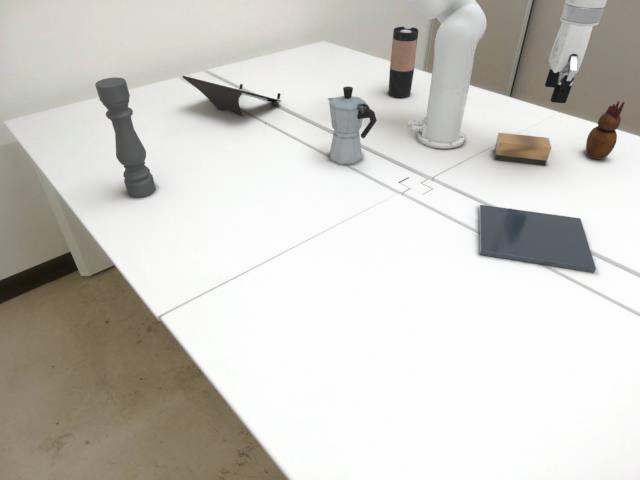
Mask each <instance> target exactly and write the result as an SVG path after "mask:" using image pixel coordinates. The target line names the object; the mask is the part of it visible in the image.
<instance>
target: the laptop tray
mask: <svg viewBox="0 0 640 480" xmlns="http://www.w3.org/2000/svg"><path fill="white" fill-rule="evenodd" d="M181 77H182V79H183V80H185V81H186V82H188V83H189V84H191V85H192V86H193V87H194V88H195V89H197V90H198V91H199V92H200V93H201V94H203V96H205V97H206V99H208V100H209V101H210V103H211V104H212V105H213V106H214V107H215V108H216V109H217V110H220V111H226V112H230V113H232V114H235V115H237V116H241V117H242V116H243V112H242V109H241V106H240V97H241V95H243V96H246V97H251V98H255V99H258V100H263V101H265V102H269V103H271V104H275V105H279V102H282V100H281V95H282V93H280V92H278V93H277V96H276V98H273V97H269V96H265V95H261V94H258V93H254V92H251V91H246V90H243V85H244V84H242V83H240V84H239V89H238V88H234V87H230V86H226V85H221V84H218V83H214V82H210V81H207V80H201V79H198V78H195V77H190V76H186V75H182V76H181Z"/></svg>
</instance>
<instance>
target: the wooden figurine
mask: <svg viewBox="0 0 640 480" xmlns="http://www.w3.org/2000/svg"><path fill="white" fill-rule="evenodd" d="M625 103H626V102H625V101H622V103H621V104H620V101H617V102H616V104H615V103H612V105H609V106H608V108H607V109H606V111H605V112H604V113H602V114H601V115H600V116H599V118H598V121H597V126H595V127H593V128H592V129H591V131H590V132H589V134H588V135H587V137H586V144H585V153H586V154H587V156H589V157H590V158H591V159H595V160H603V159H605V158H607V157H608V156H609V155H610V154H611V153H612V151H613V150H614V148H615V146H616V144H617V139H618V138H617V137H618V133H617V131H616V130H617V129H618V128H619V127H620V124H621V122H622V118H621V113H622V111H623V108H624V106H625ZM619 105H620V106H619Z"/></svg>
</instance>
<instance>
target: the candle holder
mask: <svg viewBox="0 0 640 480" xmlns="http://www.w3.org/2000/svg"><path fill="white" fill-rule="evenodd" d="M94 86H95V89H96V92H97V95H98V98H99V101H100V102H101V103H102V105H103V107H104V108H106V110H107V111H106V112H105V117H106V118H107V119H108V120H110V121H111V125H112V129H113V131H114V136H115V140H114V141H115V157H116V159H117V161H118V162H119V163H120V164H121V165H122V166H123V168H124V171H123V173H122V175H123V177H124V179H123V183H124V186H125V189H126V193H127V195H128V196H129V197H131V198H133V199H143V198H146V197H150V196H151V195H153V194H154V193H155V192H156V189H157V188H156V183H155V179H154V176H153V174H152V173H151V169H150V168H149V167H148V166H146V162H145V161H146V159H147V150H146V148H145V146H144V145H143V142H142V141H141V139H140V137H139V136H138V134H137V132H136V130H135V128H134V124H133V120H132V116H133V114H134V110H133V109H132V108H131V107H129V104H130V97H131V95H130V91H129V86H128V84H127V80H126V79H125V78H124V77H114V76H113V77H108V78H107V77H106V78H102V79H100V80H98V81H96V82H95V84H94Z"/></svg>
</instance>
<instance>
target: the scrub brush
mask: <svg viewBox="0 0 640 480" xmlns="http://www.w3.org/2000/svg"><path fill="white" fill-rule="evenodd" d="M494 145H495V146H494V149H493V155H494V160H495V161H502V162H512V163H519V164H528V165H538V166H546V164H547V162H548V159H549V156H550V154H551V150H552V144H551V141H550V138H549V137H546V136H545V137H543V136H535V135H524V134H516V133H506V132H498V133H497V137H496V142H495V144H494Z"/></svg>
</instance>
